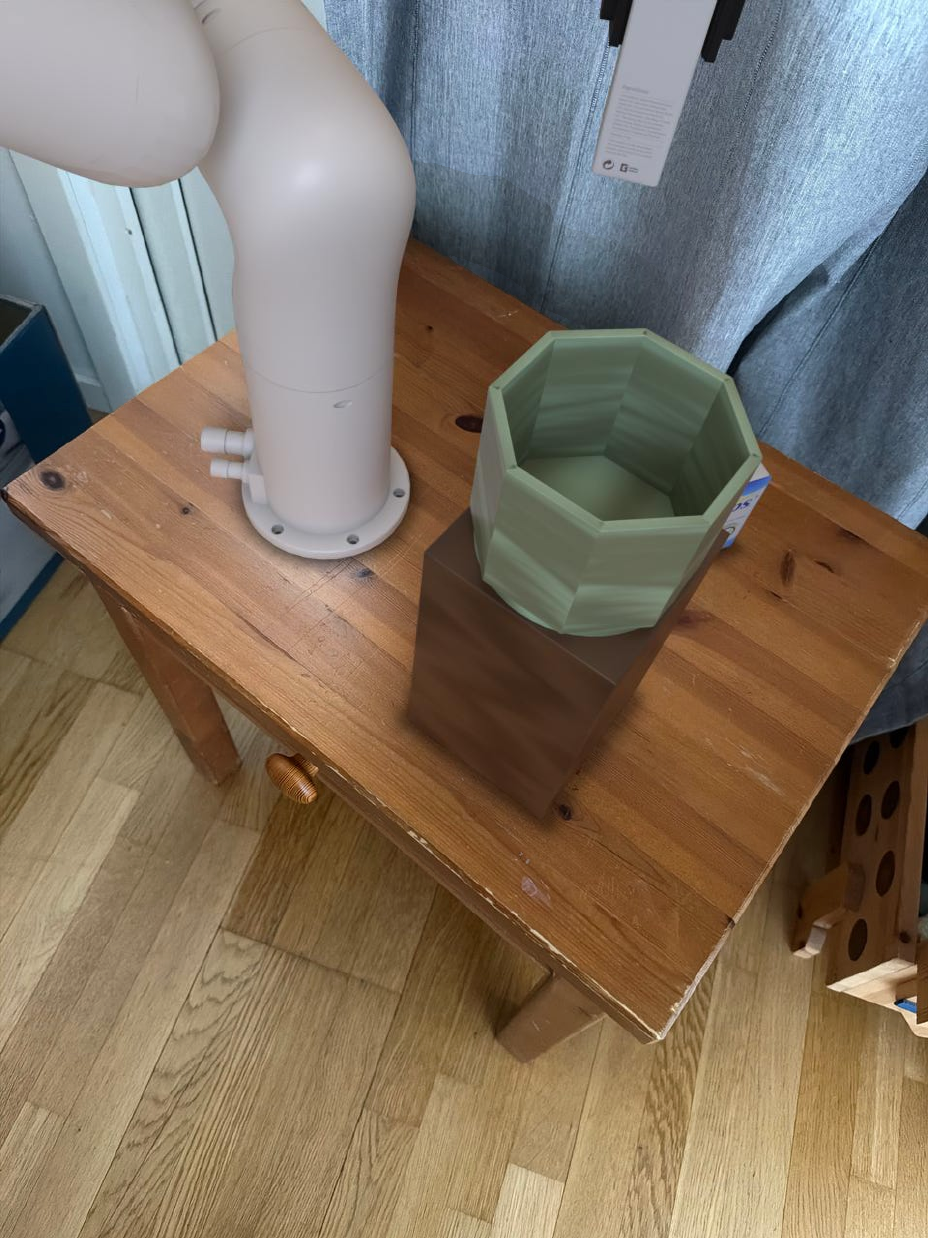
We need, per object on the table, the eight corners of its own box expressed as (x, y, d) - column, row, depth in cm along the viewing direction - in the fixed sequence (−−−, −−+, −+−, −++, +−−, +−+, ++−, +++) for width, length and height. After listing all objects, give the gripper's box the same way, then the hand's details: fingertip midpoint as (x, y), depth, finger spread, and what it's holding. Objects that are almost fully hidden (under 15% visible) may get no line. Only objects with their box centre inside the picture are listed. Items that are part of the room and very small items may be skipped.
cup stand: (407, 719, 60) (434, 429, 35) (502, 610, 65) (586, 289, 40) (540, 820, 57) (672, 583, 33) (630, 699, 62) (803, 414, 37)
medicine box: (644, 577, 67) (678, 507, 60) (616, 531, 69) (646, 458, 62) (731, 547, 70) (775, 476, 62) (702, 503, 71) (741, 430, 64)
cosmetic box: (658, 190, 54) (730, -35, 44) (589, 175, 54) (644, -54, 44) (666, 134, 57) (735, -89, 47) (601, 119, 57) (655, -106, 47)
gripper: (995, -448, 36) (802, 31, 52) (585, -527, 36) (514, -17, 51) (1038, -397, 32) (815, 104, 48) (579, -484, 32) (505, 53, 47)
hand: (661, 38), depth 50 cm, fingers closed on cosmetic box, 4 cm apart
